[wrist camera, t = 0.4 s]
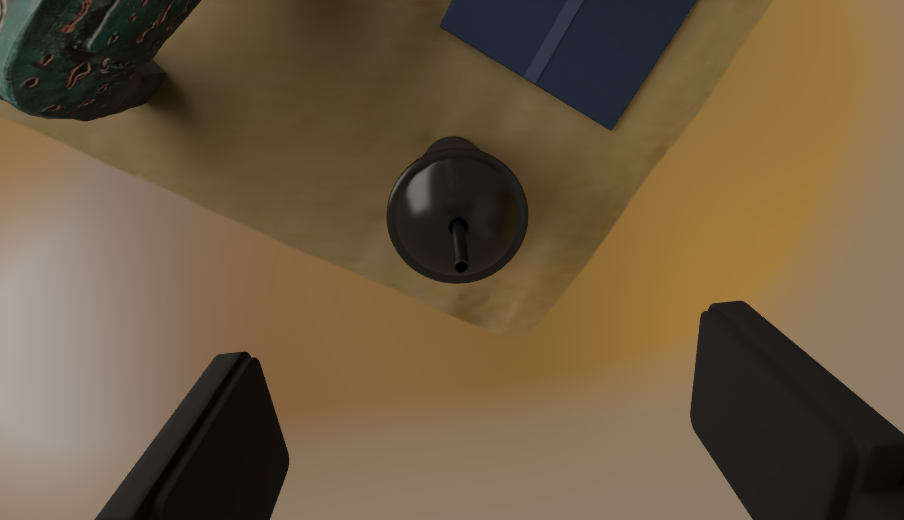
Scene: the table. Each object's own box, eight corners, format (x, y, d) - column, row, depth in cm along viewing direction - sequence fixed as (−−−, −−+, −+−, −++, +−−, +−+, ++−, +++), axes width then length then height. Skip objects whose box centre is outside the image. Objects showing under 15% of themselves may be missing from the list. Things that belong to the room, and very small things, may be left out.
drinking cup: (517, 141, 38) (586, 221, 20) (476, 226, 41) (504, 367, 22) (426, 100, 37) (410, 145, 18) (390, 191, 40) (344, 310, 21)
